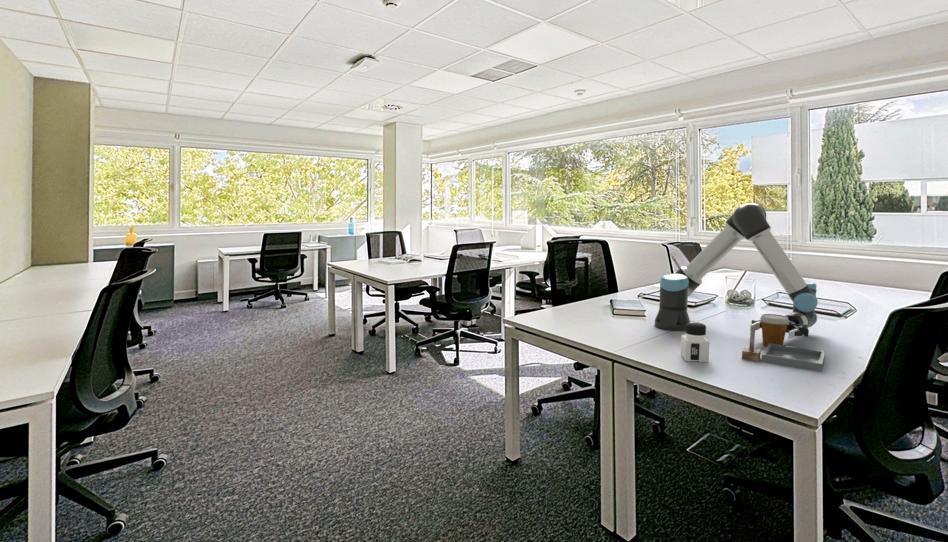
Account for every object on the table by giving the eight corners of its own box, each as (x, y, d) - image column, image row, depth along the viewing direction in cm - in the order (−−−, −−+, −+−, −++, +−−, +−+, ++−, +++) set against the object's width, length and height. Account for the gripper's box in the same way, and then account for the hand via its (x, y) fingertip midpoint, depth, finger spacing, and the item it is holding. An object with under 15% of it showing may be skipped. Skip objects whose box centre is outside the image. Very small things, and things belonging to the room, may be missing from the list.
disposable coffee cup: (759, 341, 189) (761, 312, 188) (787, 345, 184) (789, 315, 182) (757, 347, 182) (759, 317, 180) (786, 351, 176) (789, 320, 175)
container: (708, 362, 166) (710, 326, 164) (685, 361, 167) (687, 325, 165) (702, 355, 173) (704, 321, 171) (680, 354, 175) (681, 320, 173)
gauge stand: (741, 359, 169) (743, 326, 167) (744, 355, 173) (746, 323, 171) (757, 361, 166) (760, 328, 164) (760, 358, 170) (762, 325, 168)
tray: (761, 361, 166) (762, 354, 166) (768, 349, 179) (769, 343, 179) (821, 371, 155) (822, 363, 155) (824, 358, 168) (825, 351, 168)
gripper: (828, 338, 183) (806, 348, 171) (759, 325, 203) (735, 334, 191) (830, 319, 182) (808, 328, 170) (761, 308, 202) (736, 316, 190)
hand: (769, 331), depth 180 cm, fingers open, 13 cm apart
